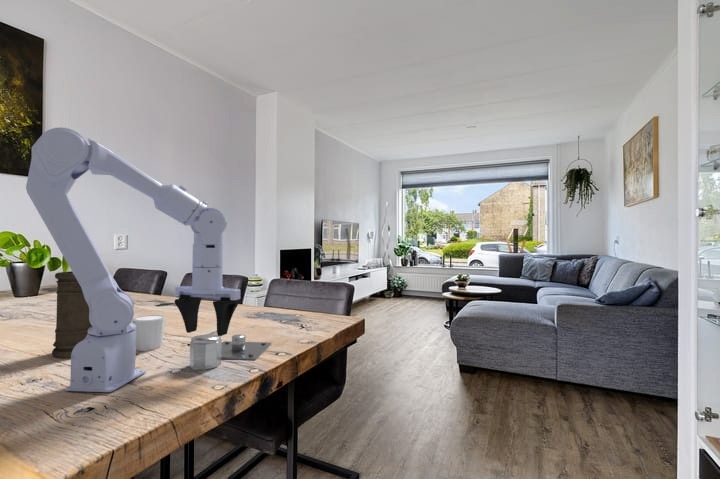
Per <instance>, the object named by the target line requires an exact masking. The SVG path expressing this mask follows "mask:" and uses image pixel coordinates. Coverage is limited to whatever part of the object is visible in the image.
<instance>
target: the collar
mask: <svg viewBox="0 0 720 479" xmlns="http://www.w3.org/2000/svg"><path fill="white" fill-rule="evenodd" d="M222 342H223V341H222V336H218V335H217V333H216V334H214V333H211V334H210V333H209V334H208V333H207V334H199V335H196V336H193V337H191V338H190V343H189V368H191V369H192V370H194V371H208V370H211V369H215V368H217V367H219V366H221V364H222V359H221V348H222Z"/></svg>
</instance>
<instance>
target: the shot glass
mask: <svg viewBox="0 0 720 479" xmlns="http://www.w3.org/2000/svg"><path fill="white" fill-rule="evenodd" d="M131 323H133V324H135V325H136V351H139V352H142V351H143V352H145V351H146V352H147V351H152V350H157V349H159V348H162V347H163V342H164V332H165V324H166V316H165V315H157V314H156V315H155V314H152V315H143V316H138V317H133V319H132V321H131Z"/></svg>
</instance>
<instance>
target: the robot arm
mask: <svg viewBox="0 0 720 479" xmlns="http://www.w3.org/2000/svg"><path fill="white" fill-rule="evenodd" d="M87 140H88V141H87ZM87 140H86V139H85V138H84V136H83V135H81V133H79V132H77V131H76V130H73V129H71V128H67V127H54V128H49V129H48V130H46V131H45V132H43V133H42V134H41V136H40V137H39V138H38V139H37V140H36V142H35V143H34V144H33V145H32V146H31V160H30V166H29V171H28V176H27V179H26V184H25V190H26V192H27V195H28V197H29V199H30V201H31V202H32V203H33V206H34V207H35V209H36V211H37V212H38V214H39V216H40V218H41V220H42V221H43V223H44V225H45V226H46V228H47V230H48V232H49V233H50V235H51V237H52V238H53V241H54V242H55V245H56V246H57V248H58V249H59V251H60V252H61V254H62V256H63V258H64V259H65V262H66V264H67V265H68V266H69V269H70V270H71V271H72V272H73V274H74V275H75V277H76V279H77V281H78V282H79V284H80V286H81V288H82V291H83V294H84V298H85V300H86V302H87V304H88V306H89V310H90V313H89V321H90V323H91V325H92V327H90V328H89V329H88V334H87V336H86V338H85V339H84V340H83V341H81V342H79V343H78V344H77V345H76V346H75V347H74V348H73V350H72V354H71V358H70V382H69V383H70V384H69V386H67V387H65V389H64V391H65V392H87V393H89V392H90V393H91V392H92V393H94V392H95V393H112V392H114V391H115V390H117V389H119V388H120V387H122V386H125V385H126V384H128V383H129V382H131V381H133V380H136V379H137V378H138V377H140V376H142V375H144V374H146V373H147V369H139V368H137V369H136V355H137V354H136V351H137V350H136V325H135V324H133V323H132V320H133V319H134V315H135V311H134V307H135V306H134V305H135V303H134V300H133V298H132V297H131V295H130V294H128V293H127V292H125V291H123V290H122V289H121V288H120V287H119V285H118V283H117V281H116V280H115V279H114V276H112V274H111V273H110V271H109V268H108V267H107V265H106V263H105V261H104V259H103V258H102V255H101V254H100V252H99V250H98V248H97V247H96V245H95V243H94V241H93V240H92V238H91V235H90V234H89V232H88V231H87V228H86V227H85V224H84V223H83V221H82V219H81V218H80V215H79V214H78V212H77V210H76V209H75V206H74V205H73V203H72V201H71V199H70V197H69V196H68V194H69V192H70V191H71V189H72V187H73V186H74V185H75V182H76V180H77V179H79V178H81V176H83V175H85V173H87V172H89V171H90V173H91V174H92V175H95V176H96V175H97V176H99V175H100V176H101V175H103V176H111V177H113V178H114V179H116V180H118V181H120V182H122V183H124V184H126V185H128V186H129V187H131V188H133V189H135V190H136V191H138V192H140V193H142V194H144V195H145V196H147V197H149V198H151V199H152V200H153V204H154V207H155V209H156V210H158V211H160V212H161V213H162V214H163V213H164V214H165V215H167V216H168V217H170V218H172V219H173V220H175V221H177V222H178V223H181V224H182V225H184V226H186V227H187V226H190V228H191V230H192V232H193V243H192V263H191V264H192V265H191V266H192V271H191V272H192V274H191V275H192V276H191V280H192V282H191V286H187V285H181V286H175V290H174V292H175V294H174V296H175V297H178V298H176V299H174V304H175V306H176V307H177V308H178V310H179V313H180V315H181V316H182V319H183V323H184V327H185V331H186V333H187V334H190V333H192V332H196V331H197V328H198V319H199V318H198V317H199V316H198V315H199V310H200V306H201V305H200V304H201V302H202V299H203V298H205V299H206V298H207V299H218V300H214V301H212V305H213V308H214V311H215V312H214V313H215V318H216V335H218V336H221V337H222V336H225V335H227V334H228V330H229V327H230V324H231V320H232V317H233V314H234V313H235V311H236V308H237V307H238V306H239V304H240V300H241V289H240V288H238V289H236V288H229V287H224V285H223V266H224V264H223V263H224V261H223V260H224V259H223V257H224V245H223V239H224V237H223V233H224V231H225V230H226V228H227V225H228V223H227V221H226V219H225V218H226V217H225V216H224V214H223V213H222V211H220V210H219V209H217V208H213V207H208V205H209V203H208V202H207V201H206V200H203V201H201V200H200V199H198V198H196V197H195V196H193V195H192V194H190V193H188V192H187V190H188V189H187V188H186V187H185V186H184V185H179V186H177V185H176V184H174V183H173V184H172V183H171V184H162V183H160V182H159V181H157V180H156V179H154V178H153V177H151V176H149V175H148V174H147V173H145V172H144V171H142V170H140V169H139V168H137V166H135V165H133V164H132V163H130V162H129V161H127V160H126V159H124V158H123V157H121V156H120V155H118V154H116V153H115V152H113V151H112V150H110V149H109V148H106V147H105V146H103V145H101V144H100V143H98V142H97V141H95V140H93V139H90V138H87Z"/></svg>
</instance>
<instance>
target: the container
mask: <svg viewBox="0 0 720 479" xmlns="http://www.w3.org/2000/svg"><path fill="white" fill-rule="evenodd" d="M54 278H55V279H56V284H57V289H56V290H57V291H56V322H55V323H56V324H55V330H54V333H55V339H54V342H53V344H52V346H53V347H54V348H53V349H52V350H51V355H52V356H53V357H54V358H58V359H71V354H72V350H73V348H74V347H75V346H76V345H77V344H78V343H79V342H81V341H83V340H84V339H85V338H86V336H87V334H88V329H89V328H90V327H92V325H91V323H90V321H89V313H90V310H89V306H88V304H87V302H86V300H85V298H84V294H83V291H82V288H81V286H80V284H79V282H78V281H77V279H76V277H75V275H74V274H73V272H72V270H71V271H60V272H56V273H55V274H54Z"/></svg>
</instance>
